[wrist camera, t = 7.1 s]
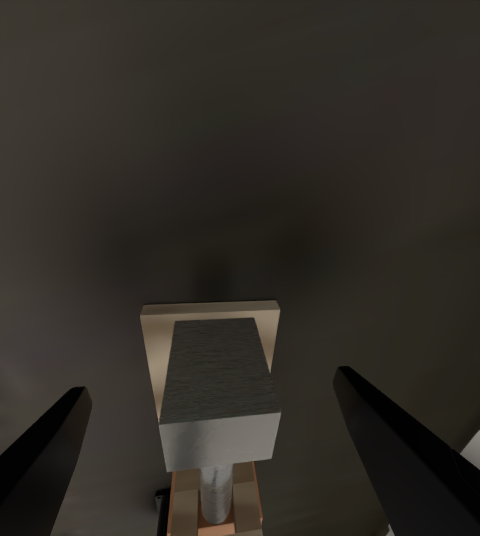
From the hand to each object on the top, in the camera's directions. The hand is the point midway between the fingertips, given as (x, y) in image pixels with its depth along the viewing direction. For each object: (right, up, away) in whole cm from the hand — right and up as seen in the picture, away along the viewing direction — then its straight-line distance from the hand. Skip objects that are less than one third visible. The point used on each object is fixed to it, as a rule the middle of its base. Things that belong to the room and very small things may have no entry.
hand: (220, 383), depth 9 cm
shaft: (-1, -5, +7) cm, 8 cm away
